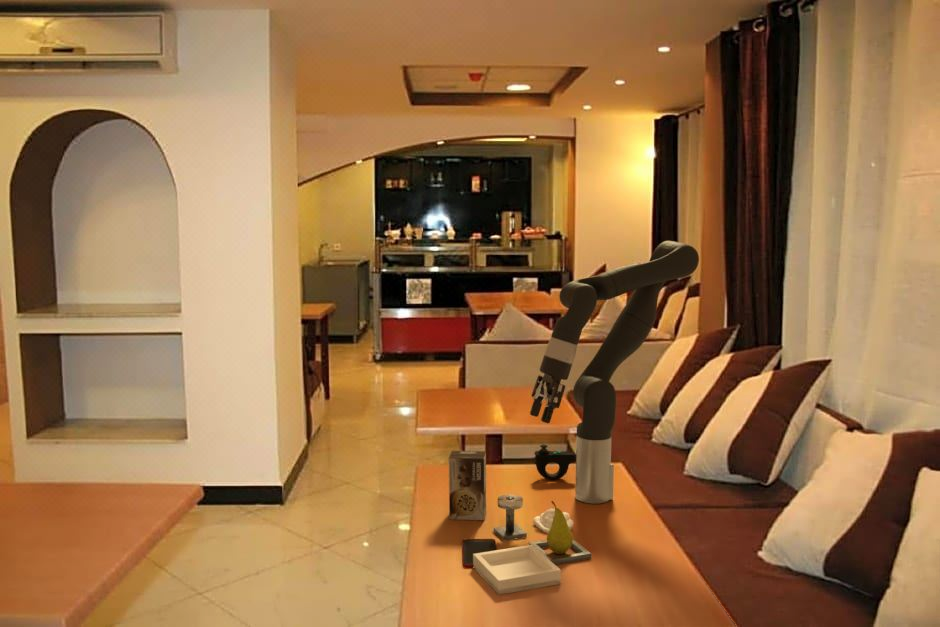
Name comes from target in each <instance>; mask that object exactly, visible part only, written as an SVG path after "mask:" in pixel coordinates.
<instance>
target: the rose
mask: <svg viewBox="0 0 940 627" xmlns="http://www.w3.org/2000/svg"><path fill="white" fill-rule="evenodd" d="M562 513H563V514H564V517H565V519H566V521H567V524H568V527H569V529H570V530H571V529H572V528H573V526H574V520H573V519H571V516H570V514H569V512H566V511H562ZM554 515H555V508H548V509H547V510H545V511H544V512H542V513H540V515H538V516H534V518H533V523H534V525H535V527H536V528H537V527H538V528H537V529H539V530H540V531H541V530H542V531H541V532H543V533H545V532H546V533H545V534H548V532H549V531H550V529H551V527H552V523H553V517H554Z"/></svg>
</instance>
